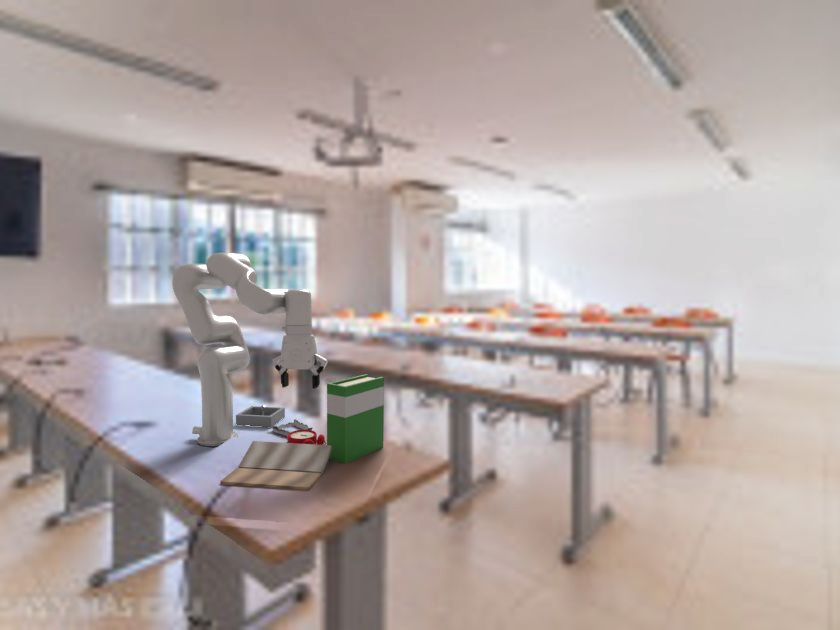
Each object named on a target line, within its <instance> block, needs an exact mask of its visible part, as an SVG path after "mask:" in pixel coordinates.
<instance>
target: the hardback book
mask: <svg viewBox="0 0 840 630" xmlns="http://www.w3.org/2000/svg"><path fill="white" fill-rule="evenodd" d="M384 400H385V377H384V376H379V377H376V378H375V377H370V376H369V374H368V373H365V374H361V375H358V376H353V377H349V378H345V379H341V380H337V381H336V380H335V381H332V382H328V383H326V445H331V447H332V450H331V453H330V456H329V458H328V460H331V461H335V462H337V463H342V464H344V465H346V464H348V463H350V462H352V461H355V460H357V459H359V458H361V457H364V456H366V455H368V454H370V453H372V452H374V451H378V450H379V449H381V448H384V426H385V425H384V413H385V412H384V409H385V401H384Z"/></svg>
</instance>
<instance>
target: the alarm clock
mask: <svg viewBox="0 0 840 630" xmlns="http://www.w3.org/2000/svg"><path fill="white" fill-rule="evenodd" d="M289 432H290V433H289V434H288V436H284V438H285V439H287V442H286V443H297V444H314V445H327V441H326V439H325V435H324V434H319V435H318V434H317V432H316V431H314V430H313V429H312V430H303V429H299V430H298V429H296V430H293V431H289ZM317 436H318V437H317ZM280 438H283V436H282V435H281V437H280Z"/></svg>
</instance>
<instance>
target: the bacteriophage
mask: <svg viewBox="0 0 840 630" xmlns="http://www.w3.org/2000/svg"><path fill="white" fill-rule="evenodd" d="M266 407H267V406H266V405H264V404H262V405H261V408H260V410H262V413H261V414H259V415H263V416H264V410H265V409H266ZM265 414H266V413H265ZM256 415H257V414H256ZM268 415H269V414H268ZM270 415H271V414H270Z"/></svg>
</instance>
